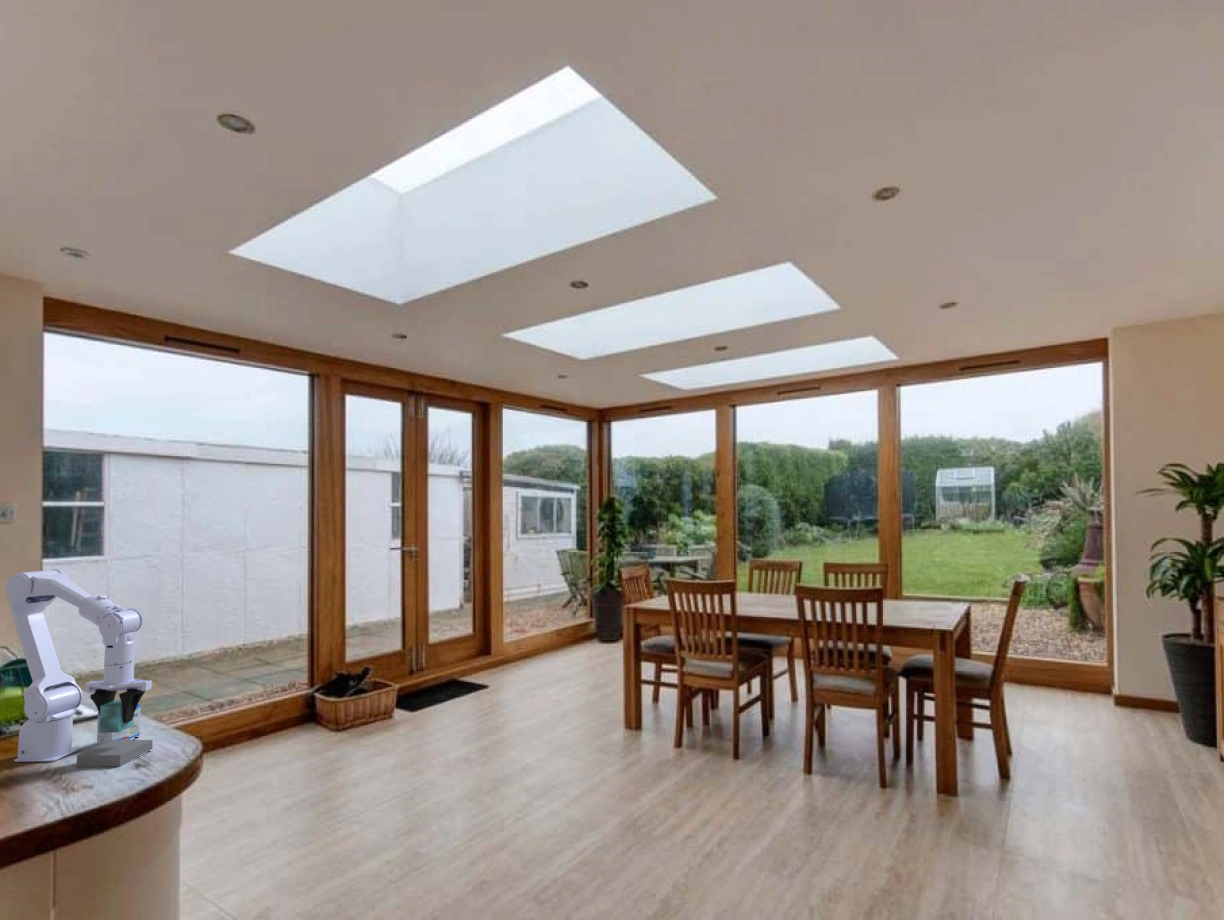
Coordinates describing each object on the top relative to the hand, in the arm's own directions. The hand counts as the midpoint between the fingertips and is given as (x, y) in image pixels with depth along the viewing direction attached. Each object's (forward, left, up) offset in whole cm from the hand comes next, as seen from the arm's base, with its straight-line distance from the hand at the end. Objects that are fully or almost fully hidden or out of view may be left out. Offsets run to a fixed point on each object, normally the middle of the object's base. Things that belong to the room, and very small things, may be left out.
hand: (117, 722), depth 153 cm
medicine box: (-8, +11, -8) cm, 16 cm away
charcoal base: (0, 0, -8) cm, 8 cm away
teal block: (0, 0, -2) cm, 2 cm away
